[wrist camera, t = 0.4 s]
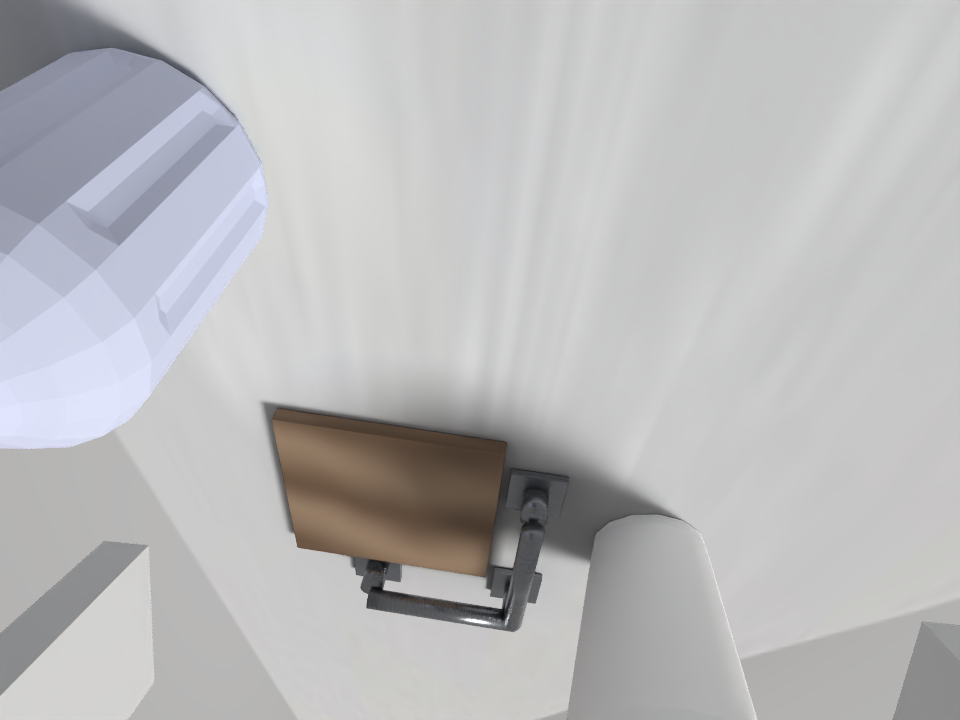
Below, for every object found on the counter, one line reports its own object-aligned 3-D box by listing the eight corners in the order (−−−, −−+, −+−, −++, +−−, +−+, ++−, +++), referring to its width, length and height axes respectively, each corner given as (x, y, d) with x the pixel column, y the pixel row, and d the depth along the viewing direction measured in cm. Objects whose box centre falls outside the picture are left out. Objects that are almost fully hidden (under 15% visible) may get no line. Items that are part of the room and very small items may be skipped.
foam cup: (545, 567, 41) (530, 810, 32) (597, 480, 35) (597, 751, 25) (690, 602, 42) (719, 852, 32) (766, 523, 36) (830, 804, 26)
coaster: (277, 408, 34) (271, 419, 34) (506, 442, 34) (504, 454, 33) (301, 536, 42) (297, 547, 42) (487, 565, 42) (485, 577, 41)
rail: (345, 443, 36) (327, 491, 33) (568, 477, 35) (566, 528, 33) (357, 569, 44) (344, 614, 42) (535, 597, 44) (532, 645, 41)
